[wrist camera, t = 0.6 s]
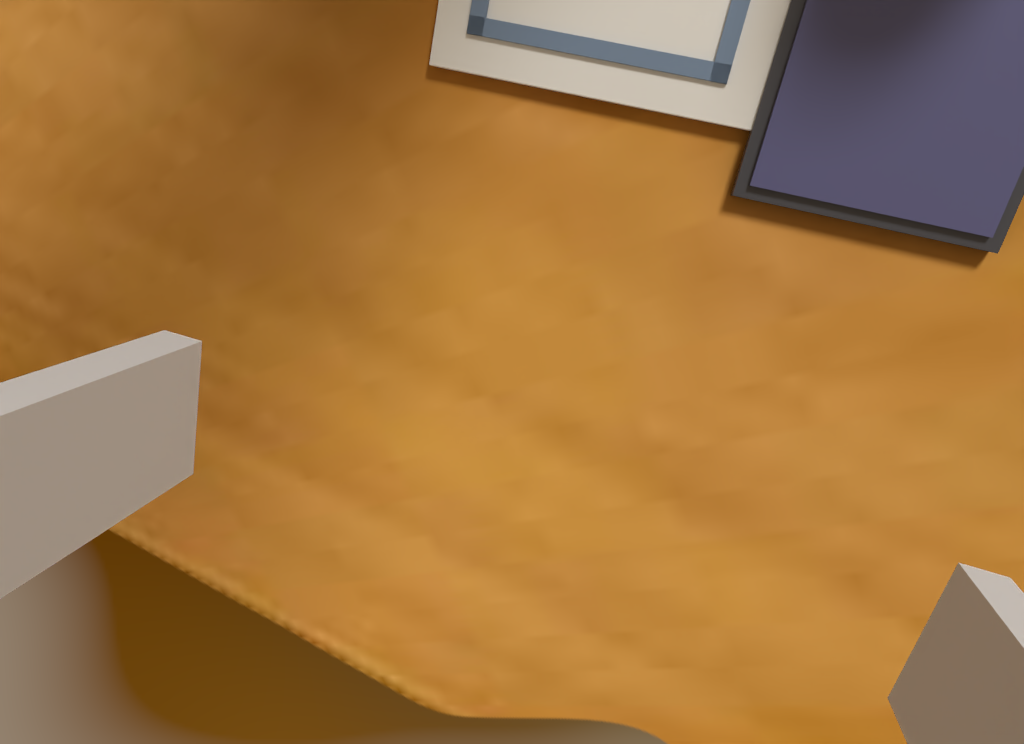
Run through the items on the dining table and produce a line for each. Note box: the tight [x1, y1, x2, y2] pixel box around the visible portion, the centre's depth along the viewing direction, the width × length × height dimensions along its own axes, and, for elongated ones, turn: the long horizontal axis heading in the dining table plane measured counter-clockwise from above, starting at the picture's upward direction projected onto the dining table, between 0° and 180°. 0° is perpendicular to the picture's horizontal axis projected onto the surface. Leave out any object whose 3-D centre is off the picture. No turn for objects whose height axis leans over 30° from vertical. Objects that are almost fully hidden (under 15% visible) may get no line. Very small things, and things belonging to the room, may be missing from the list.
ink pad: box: [731, 0, 1024, 253], centre depth 29 cm, size 12×12×1 cm
